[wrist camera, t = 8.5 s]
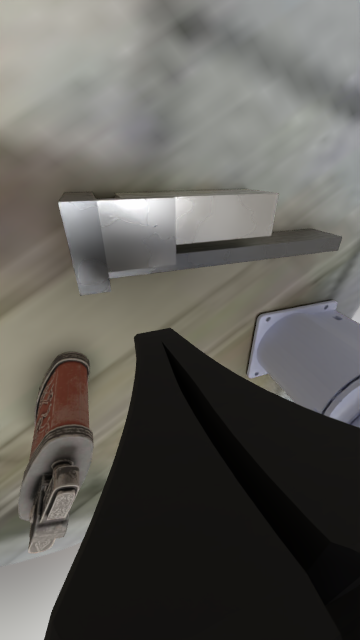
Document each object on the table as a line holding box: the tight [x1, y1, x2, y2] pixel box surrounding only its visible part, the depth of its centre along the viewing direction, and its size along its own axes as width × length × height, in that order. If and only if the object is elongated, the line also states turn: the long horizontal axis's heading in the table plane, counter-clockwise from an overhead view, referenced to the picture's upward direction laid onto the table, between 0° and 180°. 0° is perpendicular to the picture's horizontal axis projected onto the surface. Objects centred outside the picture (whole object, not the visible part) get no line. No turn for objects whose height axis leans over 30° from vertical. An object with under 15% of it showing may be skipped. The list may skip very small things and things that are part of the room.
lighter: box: [18, 352, 93, 553], centre depth 17 cm, size 8×3×10 cm, turn 153°
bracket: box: [58, 192, 342, 296], centre depth 16 cm, size 18×4×5 cm, turn 90°
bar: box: [115, 189, 279, 245], centre depth 15 cm, size 9×2×4 cm, turn 90°
